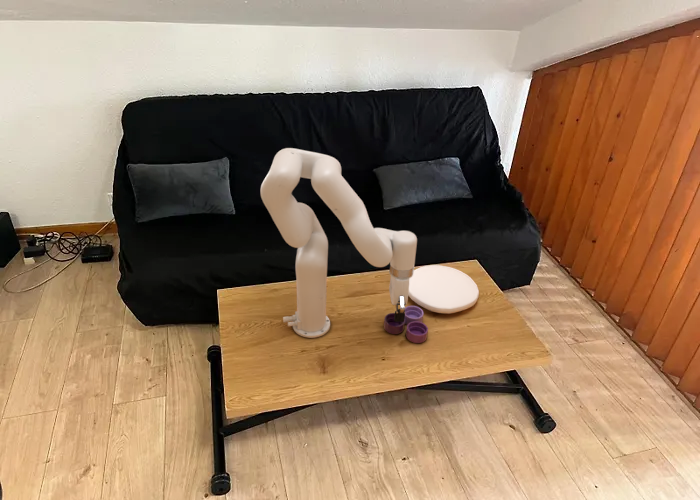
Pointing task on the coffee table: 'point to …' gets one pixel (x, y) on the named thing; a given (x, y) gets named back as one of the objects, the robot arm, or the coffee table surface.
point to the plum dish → (416, 332)
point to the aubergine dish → (393, 324)
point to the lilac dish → (413, 314)
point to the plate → (442, 289)
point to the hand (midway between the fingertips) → (397, 311)
